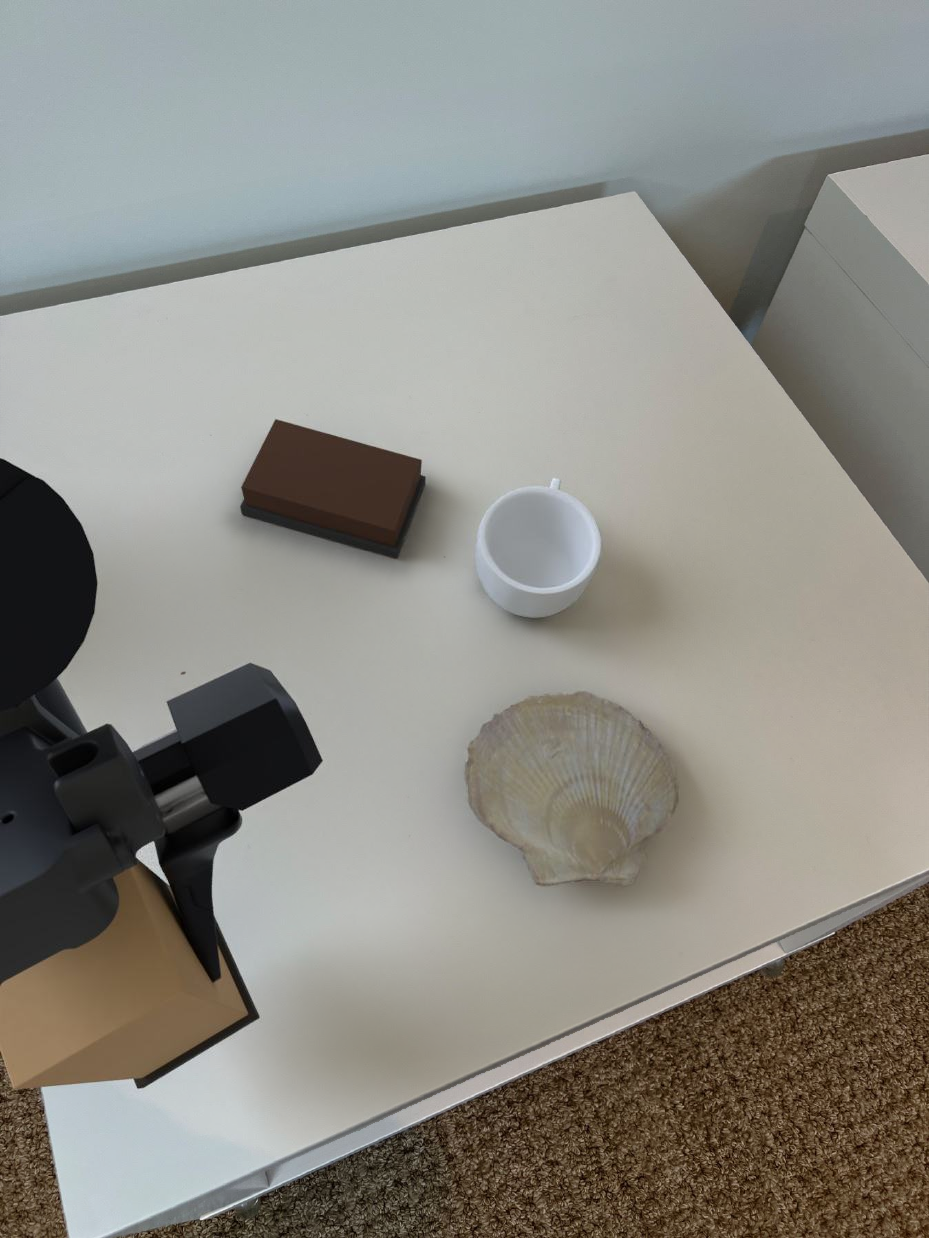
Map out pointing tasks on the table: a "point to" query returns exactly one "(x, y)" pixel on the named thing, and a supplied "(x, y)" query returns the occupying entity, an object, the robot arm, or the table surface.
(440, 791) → the table surface
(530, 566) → the teacup
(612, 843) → the seashell
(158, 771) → the robot arm
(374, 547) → the brown slab
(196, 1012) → the tan block on base
